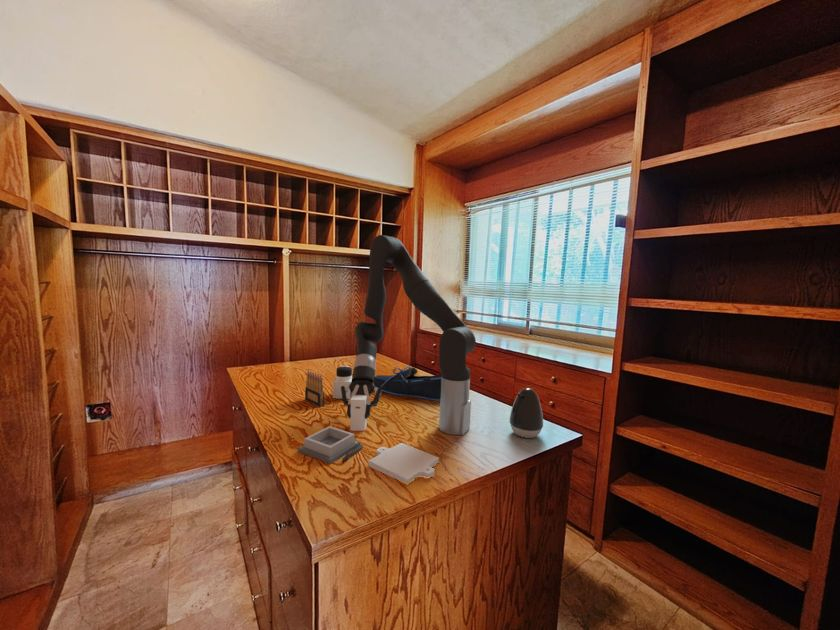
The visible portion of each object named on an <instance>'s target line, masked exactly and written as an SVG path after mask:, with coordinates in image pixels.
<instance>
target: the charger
mask: <svg viewBox="0 0 840 630" xmlns="http://www.w3.org/2000/svg"><path fill="white" fill-rule="evenodd" d="M366 405H367V396H365V395H355V396H352V398H351V418H350V420H349V421H350V425H349V426H350V427H349V428H350V429H349V430H350V431H354V432H355V431H356V432H357V431H360V432H363V431H365V430H366V428H367V424H368V423H367V422H368V418H367V419H365V410H366Z"/></svg>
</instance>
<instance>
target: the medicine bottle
mask: <svg viewBox="0 0 840 630" xmlns="http://www.w3.org/2000/svg"><path fill="white" fill-rule="evenodd" d="M335 375H336V378H335V379H334V380H333V381H332V399H334V398H336V399H337V400H338V399H340V400H341V399H342V392H341V387H342V386H344V387H347V386H349V385H350V384H351V381H352V375H353V368H352V367H351V366H348V365H342V366H341V365H340V366H339V367H337V368H336V374H335ZM351 395H352V392H351V391H350V390H349V391H348V393H347V394H346V397H347V400H350V398H351ZM342 400H343V399H342Z"/></svg>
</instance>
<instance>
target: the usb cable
mask: <svg viewBox="0 0 840 630" xmlns="http://www.w3.org/2000/svg"><path fill="white" fill-rule="evenodd" d="M363 448H364V445H363V444H360V446H358V447H357V448H355V449H354V450H352V451H351V452H349V453H347V454H346V455H344V456H343V457H342V461H343V462H346V461H347V460H348V459H349V458H350V457H352V456H353V455H355V454H356V453H357V452H358V451H360V450H362V449H363Z"/></svg>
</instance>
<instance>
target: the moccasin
mask: <svg viewBox="0 0 840 630" xmlns="http://www.w3.org/2000/svg"><path fill="white" fill-rule="evenodd" d="M397 369H398V371H399V372H398V371H397V372H395V371H396V370H397ZM392 373H393V374H392V375H387V374H385V375H382V374H378V375H375V378H374V386H375V387H377V388H379V387H381V388H382V393H386V394H390V395H393V396H401V397H413V398H418V397H419V398H420V399H423V400H429V399H430V401H434V400H435V401H436V402H440V393H441V374H438V375H416V374H417V373H418V370H417V368H415V367H411V366H410V365H406V366H405V367H404V368H402V369H401V368H400V367H394V369H393V371H392Z"/></svg>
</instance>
